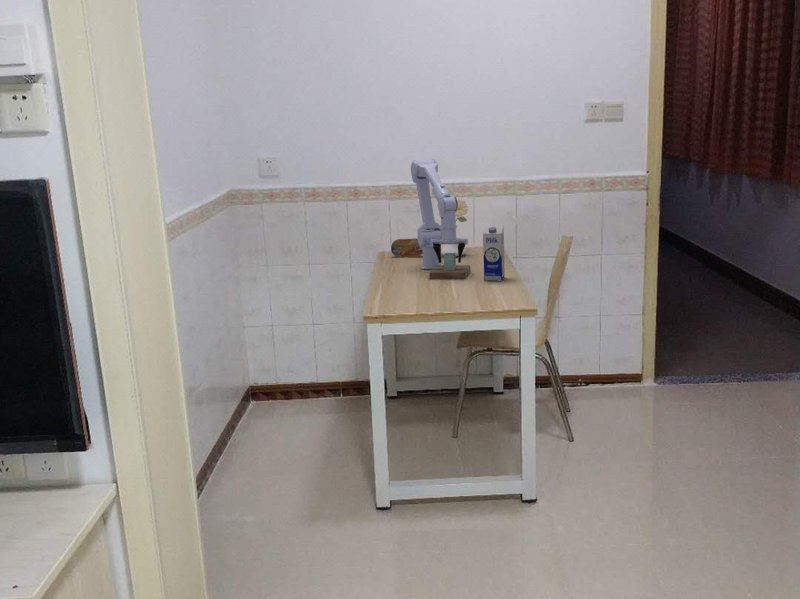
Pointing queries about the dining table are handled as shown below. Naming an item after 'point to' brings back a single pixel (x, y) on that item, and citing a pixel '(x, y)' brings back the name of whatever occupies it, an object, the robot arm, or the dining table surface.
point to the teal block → (449, 261)
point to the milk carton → (493, 252)
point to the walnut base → (450, 272)
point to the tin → (406, 248)
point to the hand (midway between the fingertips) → (449, 262)
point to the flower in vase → (460, 211)
